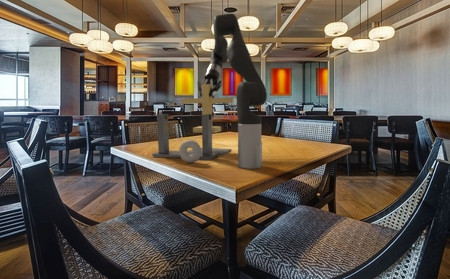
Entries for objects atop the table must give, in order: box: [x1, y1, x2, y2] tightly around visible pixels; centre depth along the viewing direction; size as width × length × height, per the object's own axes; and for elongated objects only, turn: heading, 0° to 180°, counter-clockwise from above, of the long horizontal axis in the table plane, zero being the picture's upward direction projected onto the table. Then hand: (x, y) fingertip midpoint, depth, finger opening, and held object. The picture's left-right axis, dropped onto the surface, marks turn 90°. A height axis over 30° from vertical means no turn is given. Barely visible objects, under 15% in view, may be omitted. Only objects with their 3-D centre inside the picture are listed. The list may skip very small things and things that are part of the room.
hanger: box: [180, 84, 235, 134], centre depth 136 cm, size 28×10×24 cm, turn 73°
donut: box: [178, 139, 202, 164], centre depth 112 cm, size 10×4×10 cm, turn 76°
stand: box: [151, 113, 219, 161], centre depth 125 cm, size 30×10×20 cm, turn 73°
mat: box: [187, 147, 232, 156], centre depth 138 cm, size 20×14×1 cm
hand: (205, 95), depth 133 cm, fingers closed on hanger, 4 cm apart
